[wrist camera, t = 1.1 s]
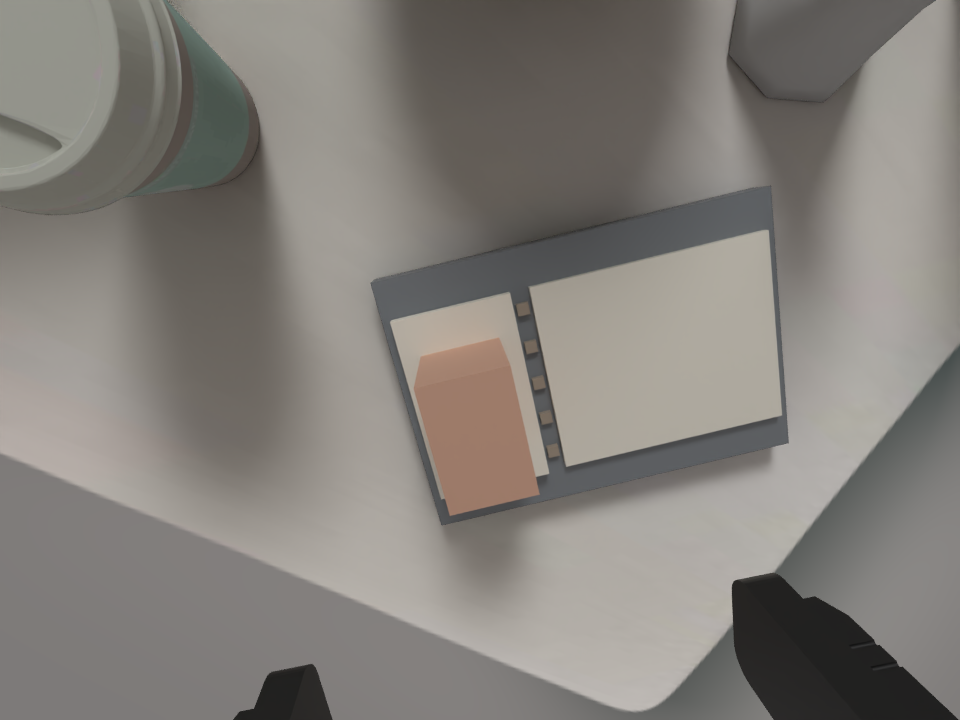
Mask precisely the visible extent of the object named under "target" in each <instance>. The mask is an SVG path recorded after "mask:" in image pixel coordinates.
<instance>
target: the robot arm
mask: <svg viewBox="0 0 960 720" xmlns="http://www.w3.org/2000/svg"><path fill="white" fill-rule="evenodd" d="M732 607H733V629H734V647H735V652H736V656H737V659H738V662H739V664H740V667H741V669H742V671H743V673H744V676H745V677H746V679H747V681H748V682H749V684H750V686H751V687H752V688H753V690H754V691H755V693H756V694H757V695H758V697H759V699H760V700H761V702H762V703H763V705H764V706H765V708H766V709H767V710H768V712H769V713H770V715H771V716H772V718H773V719H774V720H958V719H957V718H956V717H955V716H954V715H953V714H952V713H951V712H950V711H949V710H948V709H947V708H946V707H945V706H943V705H942V704H941V703H940V702H939V701H938V700H937V699H936V698H935V697H934V696H933V695H932V694H931V693H930V692H929V691H928V690H926V689H925V688H924V687H923V686H922V685H921V684H920V683H919V682H918V681H917V680H916V679H915V678H914V677H913V676H912V675H911V674H910V673H909V672H908V671H906V670H905V669H904V668H903V667H899V666H898V664H897V661H896V660H895V659H894V658H893V657H892V656H891V655H889V654H888V653H887V652H886V651H885V650H884V649H883V648H882V647H881V646H880V645H876V644H875V642H874V639H873V638H872V637H871V636H869V635H868V634H867V633H866V632H865V631H864V630H863V629H862V628H861V627H860V626H859V625H858V624H857V623H856V622H855V621H854V620H853V619H851V618H850V617H849V616H848V615H847V614H845V613H843V612H841V611H840V610H838V609H836V608H834V607H833V606H831V605H829V604H827V603H826V602H824V601H822V600H820V599H819V598H817V597H810V598H805V599H803V598H802V597H801V596H800V595H799V594H798V593H797V592H796V591H795V590H794V589H793V588H792V587H791V586H790V585H789V584H788V583H787V582H786V581H785V580H784V579H783V578H782V577H781V576H779V575H778V574H776V573H769V574H764V575H759V576H754V577H749V578H744V579H739V580H735V581H734V582H733V584H732ZM233 720H332V717H331V714H330V710H329V707H328V704H327V701H326V698H325V694H324V691H323V688H322V685H321V682H320V679H319V675H318V672H317V670H316V668H315V666H314V665H312V664H309V665H304V666H299V667H294V668H289V669H284V670H279V671H274V672H271V673H270V674H269V675H268V676H267V678H266V680H265V682H264V684H263V687H262V689H261V692H260V695H259V697H258V700H257V703H256V705H255V708H254V709H250V710H246V711H240V712H239V713H238V714H237V716H236V717H235V718H234V719H233Z"/></svg>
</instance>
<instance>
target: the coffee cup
mask: <svg viewBox="0 0 960 720" xmlns="http://www.w3.org/2000/svg"><path fill="white" fill-rule="evenodd" d="M258 139H259V120H258V114H257V110H256V107H255V104H254V102H253V99H252V97H251V95H250V93H249V91H248V90H247V88H246V86H245V85H244V84H243V82H242V81H241V80H240V79H239V77H238V76H237V75H236V74H235V73H234V72H233V71H232V70H231V69H230V68H229V67H228V65H227V64H226V63H225V62H224V61H223V60H222V59H221V58H220V57H219V56H218V55H217V53H216V52H215V51H214V50H213V49H212V48H211V47H210V46H209V45H208V44H207V43H206V42H205V41H204V40H203V39H202V38H201V37H200V35H199V34H198V33H197V32H196V31H195V30H194V29H193V28H192V27H191V26H190V25H189V24H188V23H187V22H186V21H185V20H184V18H183V17H182V16H181V15H180V14H179V13H178V12H177V11H176V10H175V9H174V8H173V7H172V6H171V5H170V4H169V3H168V1H167V0H0V206H3V207H7V208H11V209H15V210H19V211H23V212H28V213H35V214H44V215H69V214H77V213H83V212H88V211H92V210H95V209H98V208H101V207H104V206H107V205H109V204H111V203H113V202H115V201H117V200H119V199H121V198H124V197H132V196H140V195H148V194H156V193H164V192H172V191H180V190H188V189H196V188H203V187H211V186H216V185H221V184H224V183H226V182H228V181H230V180H232V179H234V178H235V177H237V176H238V175H239V174H241V173H242V172H243V171H244V170H245V168H246V167H247V166H248V165H249V163H250V162H251V160H252V158H253V156H254V154H255V151H256V148H257V144H258Z"/></svg>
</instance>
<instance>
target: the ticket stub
mask: <svg viewBox="0 0 960 720" xmlns="http://www.w3.org/2000/svg"><path fill="white" fill-rule="evenodd" d="M390 324H391V328H392V331H393V335H394V338H395V341H396V345H397V348H398V352H399V355H400V359H401V362H402V366H403V369H404V373H405V376H406V380H407V383H408V386H409V390H410V393H411V397H412V400H413V404H414V407H415V411H416V414H417V418H418V421H419V425H420V428H421V431H422V435H423V438H424V442H425V445H426V449H427V452H428V456H429V459H430V463H431V466H432V469H433V473H434V476H435V480H436V483H437V487H438V490H439V494H440V497H441V499H445V500H446V504H447V507H448V511H449V514H450V516H451V515H456V514H460V513H464V512H468V511H473V510H477V509H481V508H485V507H489V506H494V505H498V504H502V503H506V502H510V501H515V500H519V499H523V498H527V497H531V496H536V495H540V494H539V489H538V485H537V480H536V477H538V476H542V475H546V474H549V469H548V465H547V460H546V456H545V451H544V446H543V442H542V437H541V433H540V428H539V424H538V419H537V414H536V410H535V405H534V401H533V396H532V391H531V387H530V382H529V378H528V373H527V368H526V364H525V359H524V355H523V350H522V345H521V341H520V336H519V332H518V327H517V322H516V318H515V313H514V309H513V304H512V300H511V295H510V293H509V292H506V293H502V294H498V295H493V296H489V297H485V298H481V299H477V300H473V301H469V302H464V303H460V304H456V305H452V306H448V307H444V308H440V309H435V310H431V311H427V312H423V313H419V314H415V315H411V316H407V317H402V318H398V319H394V320H391V322H390Z"/></svg>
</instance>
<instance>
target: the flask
mask: <svg viewBox="0 0 960 720" xmlns="http://www.w3.org/2000/svg"><path fill="white" fill-rule="evenodd" d="M934 1H936V0H738V2H737V8H736V14H735V20H734V26H733V32H732V38H731V44H730V50H729V55H730V56H731V57H732V59H733V60H734V61H735V62H736V63H737V64H738V65H739V66H740V68H741V69H742V70H743V71H744V72H745V73H746V74H747V75H748V77H749V78H750V79H751V80H752V81H753V82H754V83H755V84H756V86H757V87H758V88H759V89H760V90H761V91H762V92H763V94H764V95H765V96H766V97H767V98H776V99H788V100H800V101H812V102H824V101H825V100H826V99H827V98H829V97H830V96H831V95H832V94H833V93H834V92H835V91H836V90H837V89H838V88H839V87H840V86H841V85H842V84H843V83H844V82H845V81H846V80H847V79H848V78H849V77H850V76H851V75H853V74H854V73H855V72H856V71H857V70H858V69H859V68H860V67H861V66H862V65H863V64H864V63H865V62H866V61H867V60H868V59H869V58H870V57H871V56H872V55H873V54H874V53H875V52H876V51H877V50H879V49H880V48H881V47H882V46H883V45H884V44H885V43H886V42H887V41H888V40H890V39H891V38H892V37H893V36H894V35H895V34H896V33H897V32H898V31H899V30H901V29H902V28H903V27H904V26H905V25H906V24H907V23H908V22H909V21H910V20H912V19H913V18H914V17H915V16H916V15H917V14H918V13H919V12H920V11H921V10H923V9H924V8H925V7H927V6H928V5H930V4H931V3H933V2H934Z"/></svg>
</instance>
